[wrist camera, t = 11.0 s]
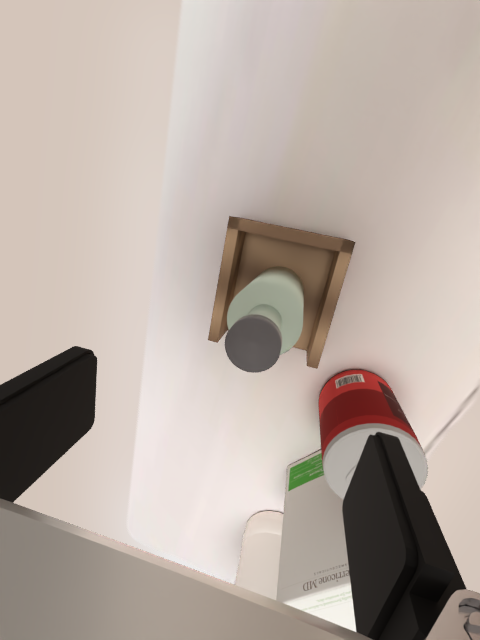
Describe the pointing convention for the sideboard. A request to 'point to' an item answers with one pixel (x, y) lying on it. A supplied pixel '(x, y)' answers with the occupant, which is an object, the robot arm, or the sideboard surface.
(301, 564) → the skincare box
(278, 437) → the sideboard surface
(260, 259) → the u rest
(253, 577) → the bottle
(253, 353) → the bottle
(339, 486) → the canned food
